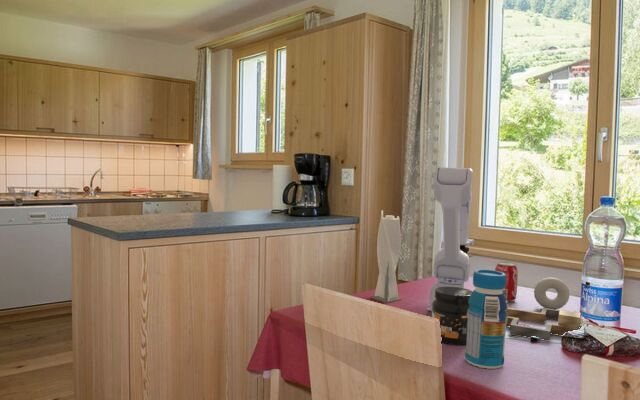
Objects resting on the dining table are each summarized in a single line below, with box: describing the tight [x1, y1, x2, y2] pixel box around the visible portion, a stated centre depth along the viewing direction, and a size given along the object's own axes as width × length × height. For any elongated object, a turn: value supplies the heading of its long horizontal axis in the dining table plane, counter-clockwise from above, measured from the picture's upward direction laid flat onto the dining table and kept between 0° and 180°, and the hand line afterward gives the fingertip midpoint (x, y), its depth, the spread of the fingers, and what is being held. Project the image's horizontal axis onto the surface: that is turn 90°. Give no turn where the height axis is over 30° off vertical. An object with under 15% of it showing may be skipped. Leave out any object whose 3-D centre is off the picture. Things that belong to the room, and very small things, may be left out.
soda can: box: [494, 261, 519, 303], centre depth 164 cm, size 7×7×12 cm
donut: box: [533, 276, 570, 310], centre depth 154 cm, size 10×4×10 cm, turn 72°
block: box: [557, 309, 582, 328], centre depth 133 cm, size 5×5×5 cm
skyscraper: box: [370, 210, 403, 304], centre depth 160 cm, size 8×8×28 cm
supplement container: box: [431, 286, 474, 346], centre depth 124 cm, size 10×10×12 cm
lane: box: [506, 307, 586, 341], centre depth 137 cm, size 22×23×4 cm
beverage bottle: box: [464, 269, 509, 370], centre depth 109 cm, size 8×8×20 cm
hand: (456, 269), depth 161 cm, fingers closed
